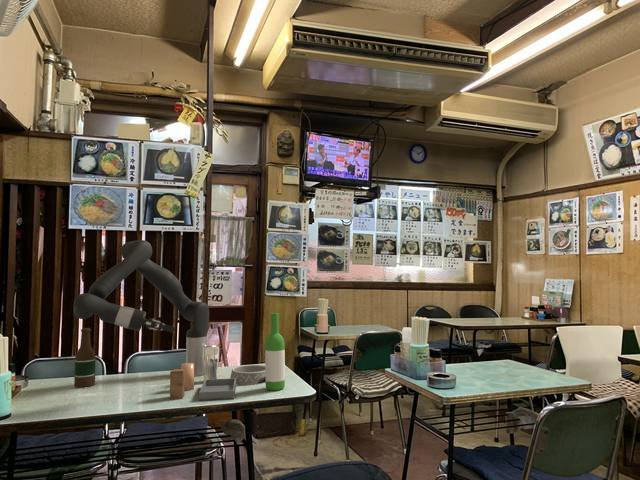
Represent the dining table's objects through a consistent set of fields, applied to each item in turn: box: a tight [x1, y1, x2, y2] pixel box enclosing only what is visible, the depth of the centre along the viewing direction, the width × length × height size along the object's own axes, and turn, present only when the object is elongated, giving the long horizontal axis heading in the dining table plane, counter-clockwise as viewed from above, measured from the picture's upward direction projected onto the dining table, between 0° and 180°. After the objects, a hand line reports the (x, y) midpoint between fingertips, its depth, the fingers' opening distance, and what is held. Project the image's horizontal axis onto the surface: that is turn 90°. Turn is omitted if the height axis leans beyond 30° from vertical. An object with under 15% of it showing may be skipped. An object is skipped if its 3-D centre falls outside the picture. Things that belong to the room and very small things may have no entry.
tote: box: [198, 377, 237, 401], centre depth 180 cm, size 21×13×3 cm, turn 8°
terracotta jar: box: [180, 362, 195, 392], centre depth 187 cm, size 5×5×10 cm
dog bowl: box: [229, 364, 266, 386], centre depth 201 cm, size 17×18×5 cm
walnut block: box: [169, 368, 185, 400], centre depth 175 cm, size 4×4×10 cm
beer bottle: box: [73, 327, 96, 389], centre depth 195 cm, size 8×8×24 cm
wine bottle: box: [264, 312, 286, 392], centre depth 186 cm, size 8×8×30 cm
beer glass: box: [202, 344, 220, 383], centre depth 200 cm, size 7×7×15 cm
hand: (173, 329), depth 177 cm, fingers open, 8 cm apart
